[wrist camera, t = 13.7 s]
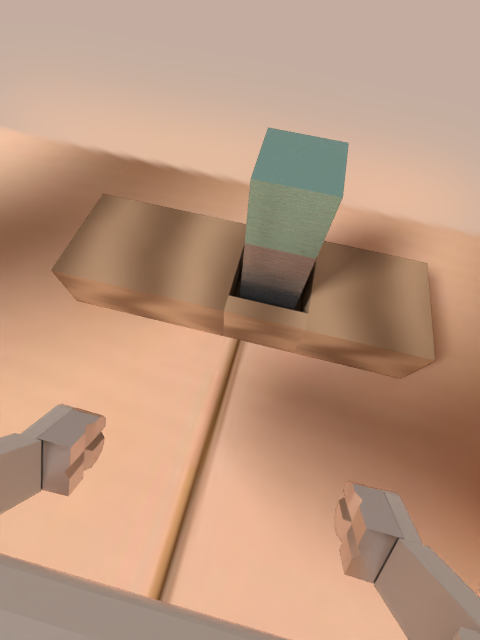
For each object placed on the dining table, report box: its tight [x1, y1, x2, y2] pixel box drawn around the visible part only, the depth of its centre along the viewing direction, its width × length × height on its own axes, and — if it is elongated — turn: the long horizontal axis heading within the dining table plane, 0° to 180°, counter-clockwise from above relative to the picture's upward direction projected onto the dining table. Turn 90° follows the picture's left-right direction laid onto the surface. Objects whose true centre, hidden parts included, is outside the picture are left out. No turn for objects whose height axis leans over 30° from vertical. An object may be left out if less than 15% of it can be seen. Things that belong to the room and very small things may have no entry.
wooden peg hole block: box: [51, 194, 435, 379], centre depth 23 cm, size 26×8×4 cm, turn 76°
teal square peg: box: [240, 128, 348, 310], centre depth 19 cm, size 4×4×12 cm
